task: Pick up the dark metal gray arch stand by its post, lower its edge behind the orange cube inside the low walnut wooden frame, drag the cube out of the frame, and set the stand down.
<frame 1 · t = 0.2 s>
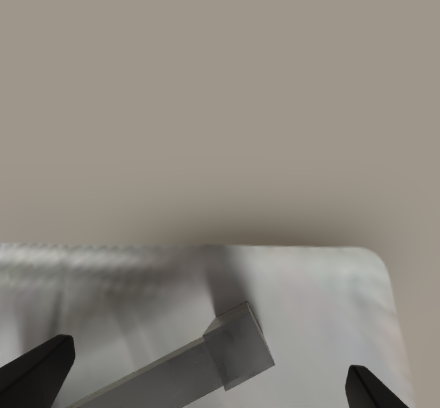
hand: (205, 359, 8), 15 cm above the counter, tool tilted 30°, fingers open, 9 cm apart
gray arch stand: (142, 376, 22), on the counter
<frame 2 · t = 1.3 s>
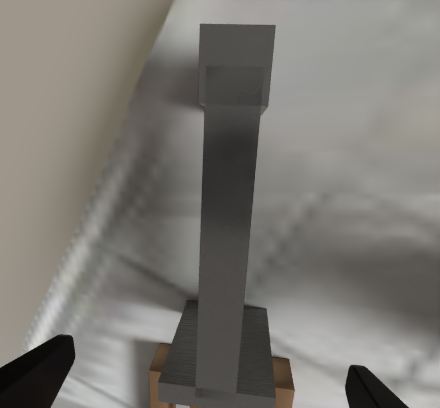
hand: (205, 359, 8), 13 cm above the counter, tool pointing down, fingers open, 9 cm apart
wooden frame: (220, 402, 26), on the counter
gray arch stand: (232, 215, 21), on the counter
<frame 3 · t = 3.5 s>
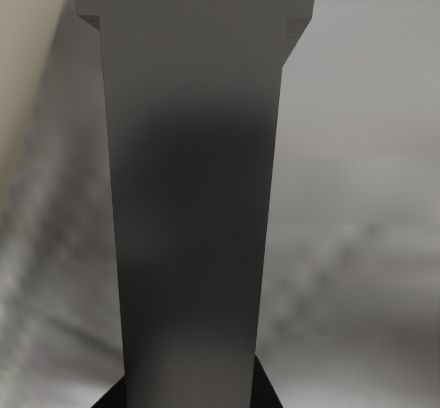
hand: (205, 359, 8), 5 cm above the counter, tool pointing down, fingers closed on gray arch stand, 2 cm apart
gray arch stand: (220, 259, 13), on the counter, touching gripper
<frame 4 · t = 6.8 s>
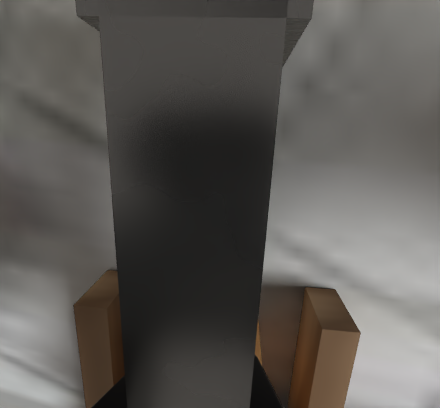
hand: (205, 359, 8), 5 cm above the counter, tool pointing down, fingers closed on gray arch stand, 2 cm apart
wooden frame: (213, 373, 15), on the counter
gray arch stand: (220, 259, 13), on the counter, touching gripper
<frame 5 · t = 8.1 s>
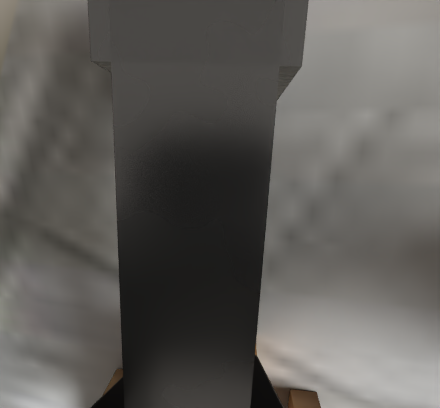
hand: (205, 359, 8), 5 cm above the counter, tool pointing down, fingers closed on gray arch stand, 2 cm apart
gray arch stand: (219, 278, 13), point 1 cm above the counter, touching cube, gripper
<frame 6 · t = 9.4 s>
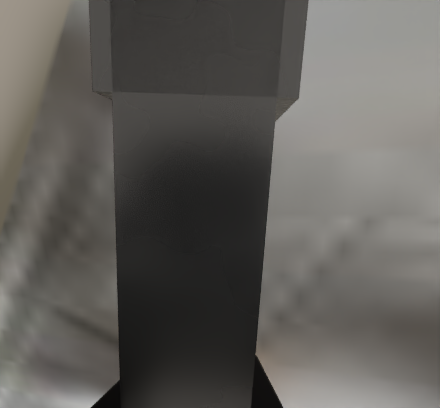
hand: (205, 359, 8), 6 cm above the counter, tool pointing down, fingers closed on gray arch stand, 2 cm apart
gray arch stand: (218, 291, 13), point 1 cm above the counter, tilted 5°, touching cube, gripper
when the fingers open (6 cm above the counter, at t = 10.4 s): gray arch stand moves 1 cm, on the counter.
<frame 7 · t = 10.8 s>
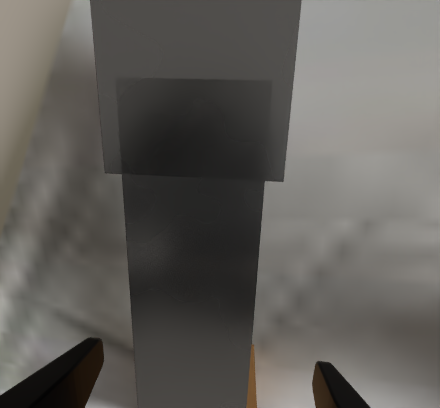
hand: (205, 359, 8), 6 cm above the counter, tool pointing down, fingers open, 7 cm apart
cube: (213, 370, 16), on the counter
gray arch stand: (219, 290, 14), on the counter
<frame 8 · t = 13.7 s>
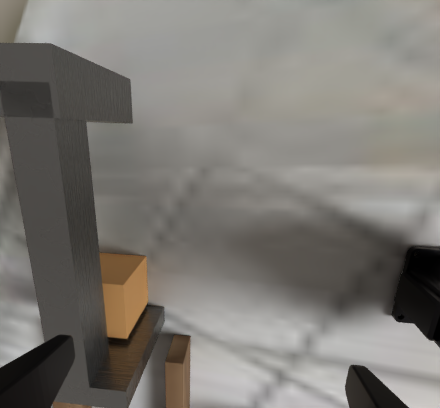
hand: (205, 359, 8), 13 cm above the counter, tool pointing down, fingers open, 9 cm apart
cube: (122, 276, 23), on the counter
wooden frame: (130, 381, 26), on the counter
gray arch stand: (120, 217, 22), on the counter
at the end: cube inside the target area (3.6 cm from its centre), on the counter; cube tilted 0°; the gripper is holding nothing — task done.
